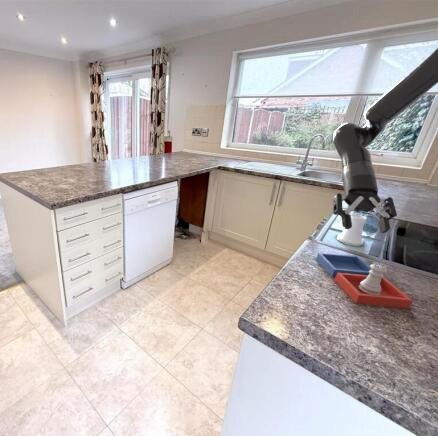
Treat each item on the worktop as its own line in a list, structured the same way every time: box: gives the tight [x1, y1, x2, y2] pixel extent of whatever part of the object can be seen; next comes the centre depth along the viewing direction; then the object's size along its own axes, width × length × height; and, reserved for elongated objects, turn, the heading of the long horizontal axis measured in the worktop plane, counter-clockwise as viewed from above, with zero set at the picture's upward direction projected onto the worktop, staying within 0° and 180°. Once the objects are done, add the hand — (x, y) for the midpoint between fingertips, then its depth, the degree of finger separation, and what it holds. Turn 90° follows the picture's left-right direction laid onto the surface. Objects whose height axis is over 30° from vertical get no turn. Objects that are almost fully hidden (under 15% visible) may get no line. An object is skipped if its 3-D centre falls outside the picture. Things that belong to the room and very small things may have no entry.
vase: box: [336, 213, 368, 247], centre depth 90 cm, size 8×8×10 cm
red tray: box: [334, 273, 414, 309], centre depth 64 cm, size 12×10×2 cm
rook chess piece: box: [359, 262, 388, 295], centre depth 63 cm, size 4×4×8 cm
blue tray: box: [315, 252, 371, 278], centre depth 74 cm, size 12×10×2 cm
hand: (366, 230), depth 68 cm, fingers open, 8 cm apart
